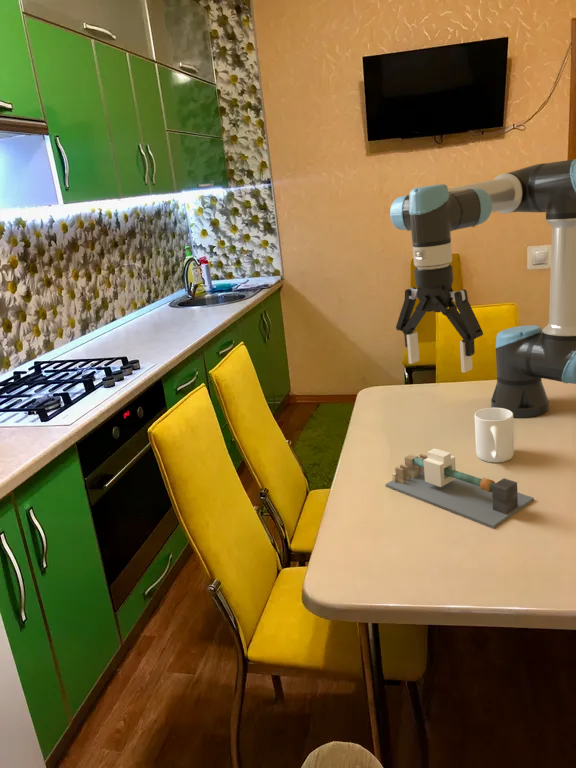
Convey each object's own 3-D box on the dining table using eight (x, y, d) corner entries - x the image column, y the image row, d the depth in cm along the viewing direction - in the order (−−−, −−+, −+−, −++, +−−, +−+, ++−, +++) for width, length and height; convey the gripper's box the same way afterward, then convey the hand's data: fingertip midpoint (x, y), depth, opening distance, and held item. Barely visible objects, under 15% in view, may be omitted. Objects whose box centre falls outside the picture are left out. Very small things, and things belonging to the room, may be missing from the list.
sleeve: (439, 472, 139) (438, 446, 137) (456, 478, 135) (454, 450, 133) (424, 481, 136) (423, 454, 134) (441, 487, 132) (439, 459, 130)
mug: (477, 470, 142) (475, 427, 138) (475, 448, 153) (473, 408, 149) (517, 470, 139) (516, 426, 136) (512, 447, 150) (511, 406, 147)
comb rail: (421, 467, 146) (419, 444, 145) (526, 503, 125) (525, 476, 124) (392, 483, 141) (390, 459, 139) (497, 523, 120) (496, 496, 118)
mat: (425, 464, 148) (425, 462, 148) (533, 500, 126) (533, 497, 126) (385, 486, 140) (385, 484, 140) (493, 528, 118) (493, 525, 118)
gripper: (374, 268, 131) (383, 363, 138) (475, 270, 112) (480, 380, 119) (397, 262, 136) (405, 354, 142) (498, 262, 117) (502, 369, 123)
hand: (439, 366), depth 130 cm, fingers open, 13 cm apart
